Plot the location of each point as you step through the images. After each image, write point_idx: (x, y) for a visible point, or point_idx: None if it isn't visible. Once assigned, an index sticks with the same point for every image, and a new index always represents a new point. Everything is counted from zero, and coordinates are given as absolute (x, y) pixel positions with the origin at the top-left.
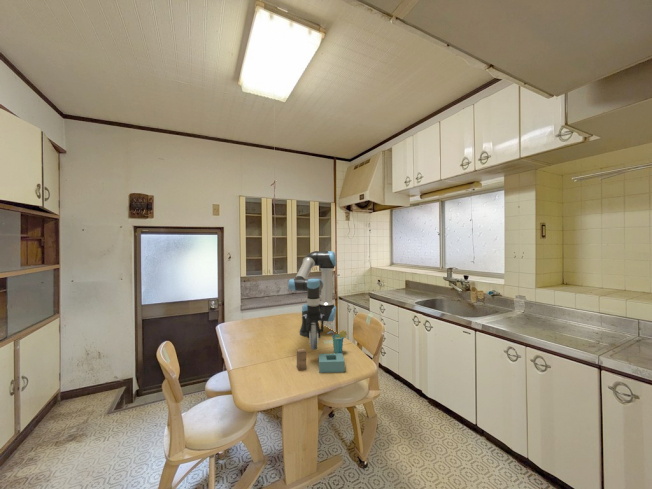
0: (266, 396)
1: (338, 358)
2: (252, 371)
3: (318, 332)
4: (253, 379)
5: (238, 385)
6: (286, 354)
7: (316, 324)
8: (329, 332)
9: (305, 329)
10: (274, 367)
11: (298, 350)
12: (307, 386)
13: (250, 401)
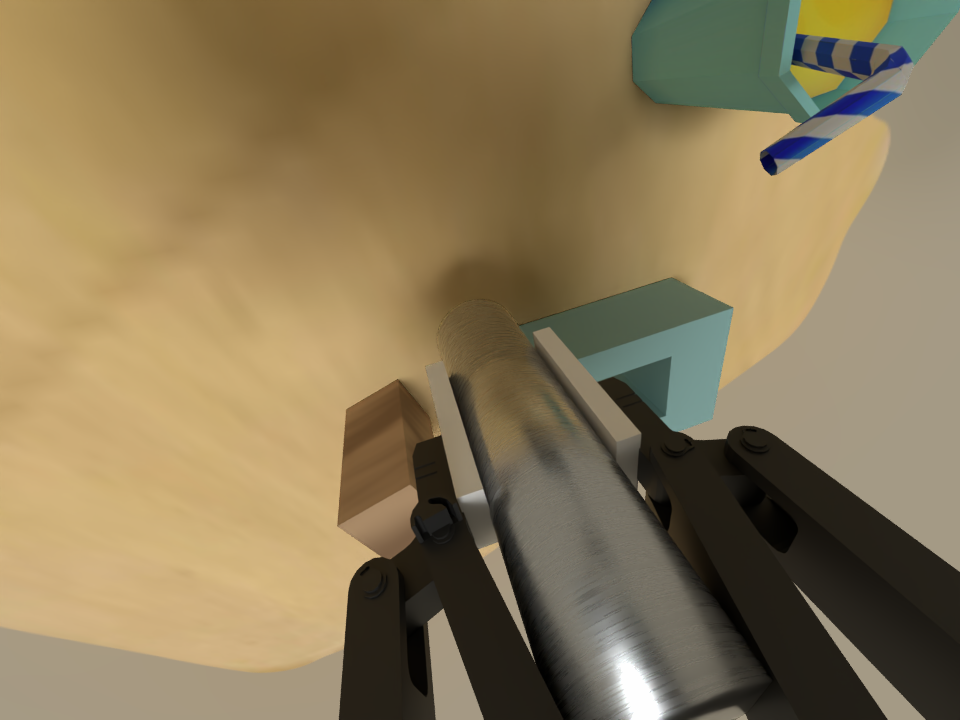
0: (334, 623)
1: (682, 397)
2: (47, 552)
3: (649, 505)
4: (156, 591)
5: (125, 642)
6: (62, 216)
7: (742, 709)
8: (826, 142)
9: (413, 668)
10: (172, 467)
11: (367, 534)
12: None
13: (290, 657)
